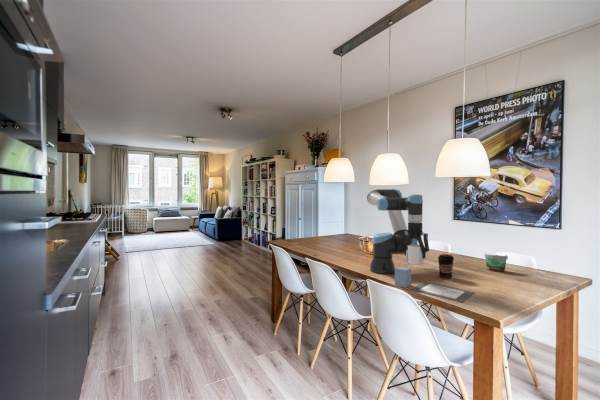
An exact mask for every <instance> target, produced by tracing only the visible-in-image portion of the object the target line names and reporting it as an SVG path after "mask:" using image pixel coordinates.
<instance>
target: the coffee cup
mask: <svg viewBox="0 0 600 400" xmlns="http://www.w3.org/2000/svg"><path fill="white" fill-rule="evenodd" d="M453 256H454V255H452V254H449V253H448V254H443V253H440V254H439V255H438V256H437V259H438V270H439V271H438V272H439V278H441V279H447V280H448V279H450V280H451V279H453V277H452V276H453V274H452V273H453V268H454V261H455V257H453Z"/></svg>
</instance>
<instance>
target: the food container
mask: <svg viewBox="0 0 600 400" xmlns="http://www.w3.org/2000/svg"><path fill="white" fill-rule="evenodd" d="M483 256H484V258H485V262H486V264H485V265H486V270H488V271H490V272H493V273H494V272H495V273H504V272H505V271H506V267H507V266H506V264H507V260H508V259H509V257H508V255H499V254H488V253H484V255H483Z"/></svg>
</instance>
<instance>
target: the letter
mask: <svg viewBox="0 0 600 400" xmlns="http://www.w3.org/2000/svg"><path fill="white" fill-rule="evenodd" d="M420 290H422V291H426V292H430V293H434V294H438V295H442V296H446V297H450V298H454V299H456V298H457V297H459V296H460V295H461V294H463V293H464V291H459V290H455V289H451V288H446V287H442V286H437V285H433V284H429V285H427V286H425V287H423V288H421V289H420Z"/></svg>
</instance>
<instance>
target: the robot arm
mask: <svg viewBox="0 0 600 400" xmlns="http://www.w3.org/2000/svg"><path fill="white" fill-rule="evenodd" d="M366 200H367V202H368V203H369V204H370V205H372V206H376V208H377V210H378V211H383V212H385V211H387V213H388V217H389V220H390V223H391V227H392V231H393V233H392V232H379V233H376V234H374V235H373V236H372V260H371V263H370V265H369V271H370V272H372V273H375V274H381V275H388V274H390V275H391V274H395V268H396V267H395V263H394V260H393V255H404V256H405V262H406V263H409V262H408V246H409V245H410V244H417V245H420V247H421V251H422V252H421V254H420V264H419V265H424V264H425V259H426V255H427V253H429V252H430V245H429V239H428V236H429V233H427V232H424V231H423V202H424V199H423V195H422V194H408V196H407V197H403V194H402V192H401V191H400V190H399V189H395V188H390V189H387V188H386V189H385V188H383V189H382V188H379V189H374V190H371V191H370V192H368V194H367V195H366ZM402 211H407V224H406V221H405V218H404V216H403V212H402ZM422 237H423V238H422ZM407 245H408V246H407Z"/></svg>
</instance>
